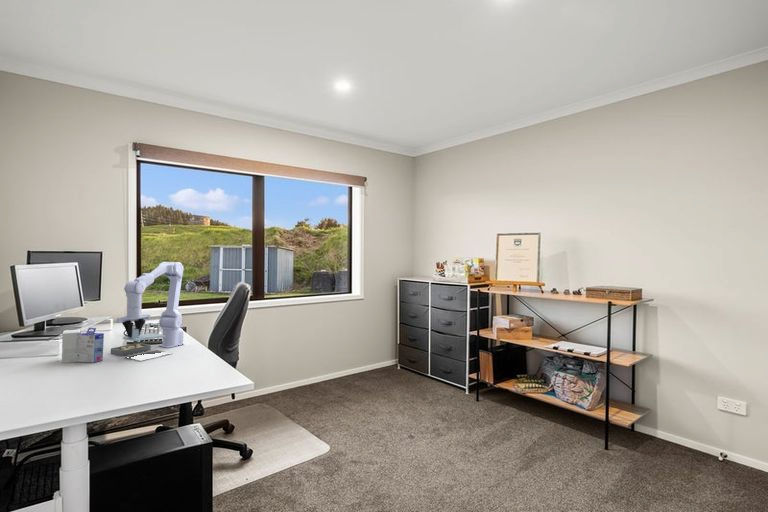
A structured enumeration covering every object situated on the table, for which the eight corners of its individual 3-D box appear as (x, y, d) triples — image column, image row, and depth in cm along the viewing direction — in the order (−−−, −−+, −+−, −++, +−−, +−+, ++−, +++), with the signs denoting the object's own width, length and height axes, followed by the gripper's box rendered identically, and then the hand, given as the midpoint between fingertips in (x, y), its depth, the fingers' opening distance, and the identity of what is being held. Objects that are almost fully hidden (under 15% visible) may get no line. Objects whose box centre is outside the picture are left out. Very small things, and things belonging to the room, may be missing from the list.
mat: (157, 350, 202) (157, 350, 202) (172, 354, 197) (172, 353, 197) (124, 357, 188) (124, 357, 188) (140, 361, 183) (140, 360, 183)
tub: (139, 347, 207) (139, 342, 207) (150, 350, 203) (150, 345, 203) (110, 353, 194) (110, 348, 194) (121, 356, 190) (122, 350, 190)
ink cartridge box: (104, 359, 183) (104, 327, 183) (94, 363, 178) (94, 330, 178) (83, 358, 184) (84, 326, 184) (73, 361, 179) (74, 329, 179)
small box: (79, 361, 180) (80, 332, 180) (61, 363, 176) (62, 333, 176) (80, 357, 186) (81, 329, 186) (62, 359, 183) (63, 330, 183)
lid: (152, 334, 202) (153, 325, 202) (165, 336, 198) (165, 326, 198) (122, 338, 189) (123, 328, 189) (135, 341, 185) (135, 330, 185)
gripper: (144, 304, 197) (143, 332, 197) (112, 307, 184) (112, 337, 184) (153, 305, 194) (152, 334, 194) (122, 309, 181) (121, 339, 181)
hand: (133, 336), depth 189 cm, fingers closed on lid, 3 cm apart
